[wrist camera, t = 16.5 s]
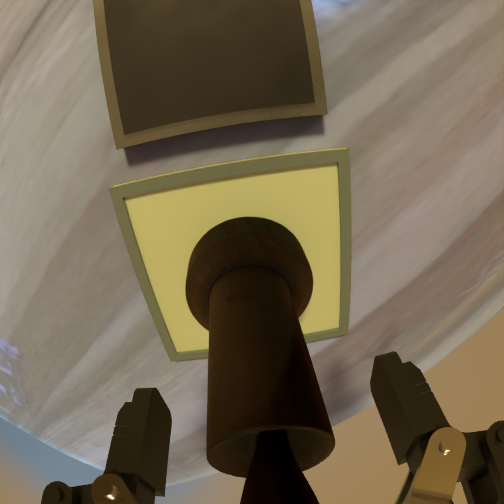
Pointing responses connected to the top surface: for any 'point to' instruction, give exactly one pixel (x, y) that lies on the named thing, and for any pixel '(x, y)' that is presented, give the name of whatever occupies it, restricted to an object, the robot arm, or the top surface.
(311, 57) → the ink pad
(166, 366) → the top surface
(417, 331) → the top surface
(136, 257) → the print card
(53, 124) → the top surface
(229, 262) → the brown wooden stamp
